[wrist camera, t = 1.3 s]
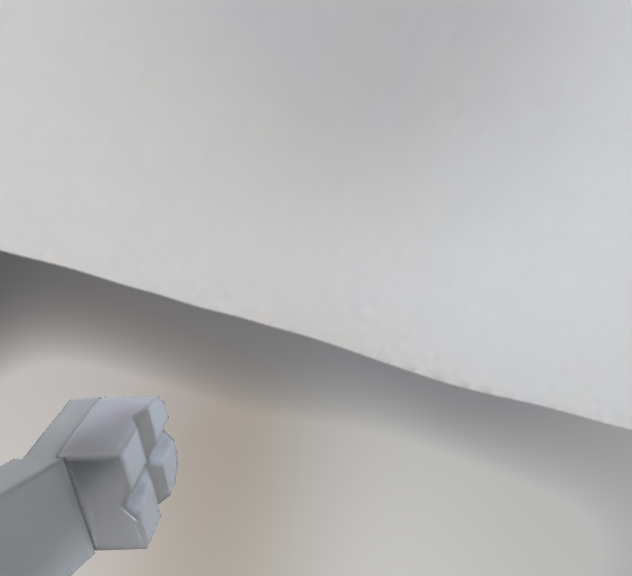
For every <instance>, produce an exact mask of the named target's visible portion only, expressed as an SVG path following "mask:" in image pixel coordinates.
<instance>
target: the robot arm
mask: <svg viewBox="0 0 632 576" xmlns="http://www.w3.org/2000/svg"><path fill="white" fill-rule="evenodd" d="M168 418H169V417H168V413H167V409H166V406H165V402H164V401H163V400H162V399H161V398H160V397H104V398H101V397H91V398H76V399H73V400H70V401H69V402H68V403H67V404H66V405H65V407H64V408H63V409H62V411H61V412H60V413H59V414H58V416H57V417H56V418H55V419H54V420H53V422H52V423H51V424H50V425H49V427H48V428H47V429H46V431H45V432H44V433H43V434H42V435H41V436H40V438H39V439H38V440H37V441H36V443H35V444H34V445H33V447H32V448H31V449H30V450H29V451H28V453H27V454H26V455H25V456H24V458H23V459H13V460H11V461H9V462H7V463H6V464H4V465H2V466H0V576H71V575H72V574H73V573H74V572H75V571H76V570H78V568H80V567H81V566H82V565H83V564H84V563H85V562H86V561H87V560H88V559H89V558H91V557H92V556H93V555H94V554H95V550H123V549H147V547H148V545H149V543H150V541H151V538H152V536H153V534H154V531H155V529H156V527H157V524H158V522H159V520H160V517H161V514H160V510H159V506H158V504H159V503H161V502H162V501H163V500H165V499H166V498H167V497H169V496H170V494H171V492H172V489H173V486H174V484H175V480H176V473H177V467H178V462H177V450H176V446H175V441H174V439H173V438H172V437H171V436H170V435H169V434H168V433H167V432H166V431H165V430H164V429H163V428H164V426H165V424H166V422H167V420H168Z"/></svg>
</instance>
